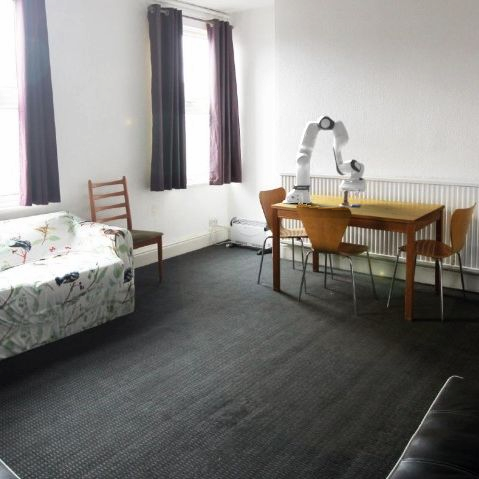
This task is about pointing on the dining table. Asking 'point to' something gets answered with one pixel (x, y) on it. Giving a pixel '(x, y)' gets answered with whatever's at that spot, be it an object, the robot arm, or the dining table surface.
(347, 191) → the stamp
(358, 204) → the ink pad
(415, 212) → the dining table surface
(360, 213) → the dining table surface
